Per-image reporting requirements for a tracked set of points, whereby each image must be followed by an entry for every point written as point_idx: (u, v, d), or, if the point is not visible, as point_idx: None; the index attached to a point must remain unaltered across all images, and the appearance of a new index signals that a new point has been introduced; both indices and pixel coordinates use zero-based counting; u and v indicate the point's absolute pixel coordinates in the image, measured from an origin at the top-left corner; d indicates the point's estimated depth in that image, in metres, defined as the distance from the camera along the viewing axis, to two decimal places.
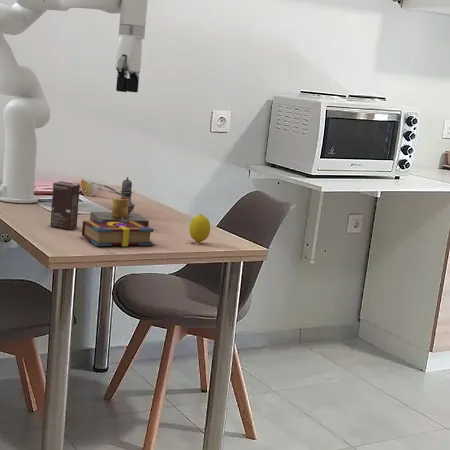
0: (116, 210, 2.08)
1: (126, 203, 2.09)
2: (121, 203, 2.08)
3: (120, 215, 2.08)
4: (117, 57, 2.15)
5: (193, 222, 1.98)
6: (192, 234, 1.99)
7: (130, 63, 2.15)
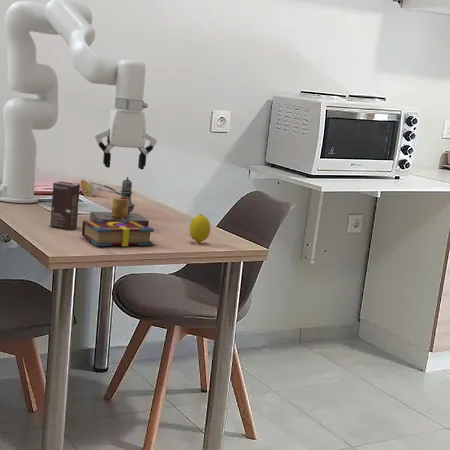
0: (116, 210, 2.08)
1: (126, 203, 2.09)
2: (121, 203, 2.08)
3: (120, 215, 2.08)
4: None
5: (193, 222, 1.98)
6: (192, 234, 1.99)
7: (111, 137, 2.04)
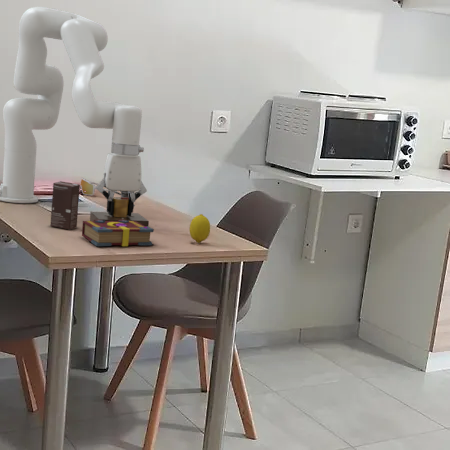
0: (116, 210, 2.08)
1: (126, 203, 2.09)
2: (121, 203, 2.08)
3: (120, 215, 2.08)
4: (103, 175, 2.09)
5: (193, 222, 1.98)
6: (192, 234, 1.99)
7: (107, 182, 2.05)
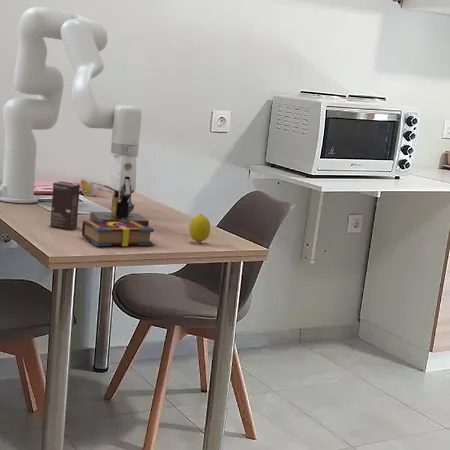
0: None
1: (115, 202, 2.08)
2: None
3: None
4: None
5: (193, 222, 1.98)
6: (192, 234, 1.99)
7: None
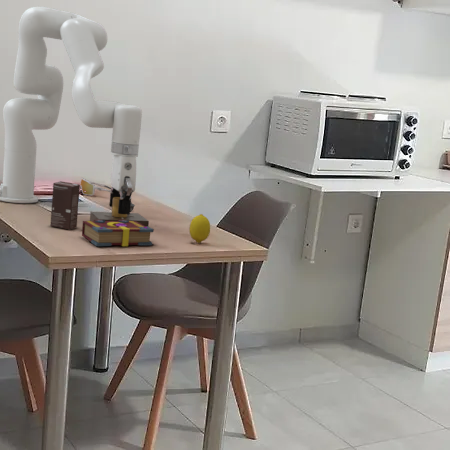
0: None
1: (115, 202, 2.08)
2: None
3: None
4: None
5: (193, 222, 1.98)
6: (192, 234, 1.99)
7: None
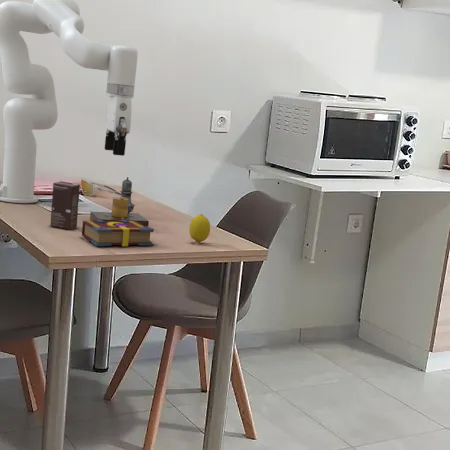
0: None
1: (115, 202, 2.08)
2: None
3: None
4: None
5: (193, 222, 1.98)
6: (192, 234, 1.99)
7: None
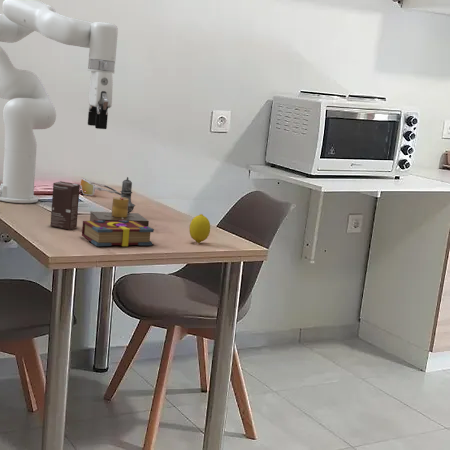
0: None
1: (115, 202, 2.08)
2: None
3: None
4: None
5: (193, 222, 1.98)
6: (192, 234, 1.99)
7: None
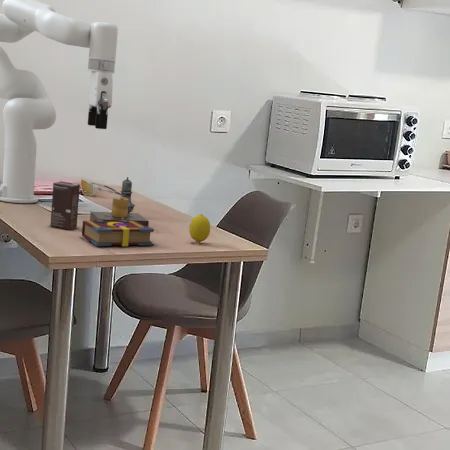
0: None
1: (115, 202, 2.08)
2: None
3: None
4: None
5: (193, 222, 1.98)
6: (192, 234, 1.99)
7: None
